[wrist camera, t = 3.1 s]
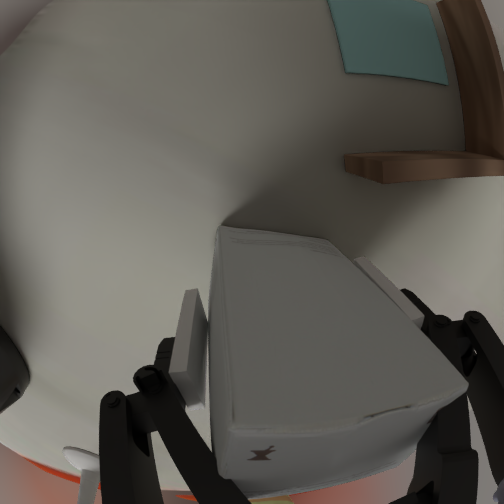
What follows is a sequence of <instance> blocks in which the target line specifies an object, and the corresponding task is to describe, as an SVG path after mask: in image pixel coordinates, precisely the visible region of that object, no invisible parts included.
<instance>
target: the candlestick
mask: <svg viewBox="0 0 504 504" xmlns="http://www.w3.org/2000/svg"><path fill="white" fill-rule="evenodd" d="M63 455H64V456H65V458H66V459H67V460H68V461H69V462H70V463H71V464H72V465H73V466H74V467H76V468H77V469H78V470H80V471H81V481H80V488H79V495H78V503H77V504H94V500H95V496H96V492H97V488H98V486H99V485H98V484H99V482H100V464H99V456H98V455H96V454H94V453H91V452H88V451H85V450H82V449H79V448H75V447H64V448H63Z"/></svg>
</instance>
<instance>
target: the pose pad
mask: <svg viewBox="0 0 504 504" xmlns="http://www.w3.org/2000/svg"><path fill="white" fill-rule="evenodd" d="M327 1H328V4H329V7H330V11H331V14H332V18H333V21H334V25H335V29H336V33H337V37H338V41H339V45H340V50H341V54H342V59H343V63H344V68H345V73H357V74H373V75H384V76H393V77H401V78H409V79H415V80H422V81H427V82H433V83H438V84H443V85H449V83H448V77H447V72H446V68H445V63H444V59H443V55H442V50H441V47H440V43H439V39H438V36H437V32H436V29H435V26H434V23H433V20H432V17H431V14H430V11H429V8H428V6H427V5H425V4H422V3H419V2H416V1H413V0H327Z"/></svg>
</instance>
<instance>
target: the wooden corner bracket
mask: <svg viewBox="0 0 504 504" xmlns="http://www.w3.org/2000/svg"><path fill="white" fill-rule="evenodd" d="M436 4H437V7H438V9H439V12H440V15H441V18H442V21H443V24H444V27H445V30H446V33H447V37H448V40H449V44H450V47H451V51H452V55H453V59H454V64H455V68H456V73H457V78H458V83H459V89H460V95H461V102H462V110H463V119H464V130H465V145H466V151H393V152H373V153H357V154H345V155H344V158H345V169H346V172H348V173H351V174H355V175H358V176H361V177H364V178H367V179H370V180H373V181H376V182H379V183H382V184H390V183H399V182H410V181H421V180H433V179H446V178H462V177H481V176H504V71H503V67H502V62H501V58H500V55H499V51H498V47H497V44H496V40H495V37H494V34H493V31H492V28H491V25H490V22H489V19H488V17H487V14H486V12H485V9H484V7H483V4H482V2H481V0H442V1H440V2H437V3H436Z"/></svg>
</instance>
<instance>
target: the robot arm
mask: <svg viewBox="0 0 504 504" xmlns="http://www.w3.org/2000/svg"><path fill="white" fill-rule="evenodd" d="M354 265H355V266H356V267H358V268H359V269H360V270H361V271H362V272H363V273H364V274H365V275H366V276H367V277H368V278H369V279H370V280H371V281H372V282H373V283H374V284H375V285H376V286H377V287H378V288H379V289H380V290H382V291H383V292H384V293H385V294H386V295H387V296H388V297H389V298H390V299H391V300H392V301H393V302H394V303H395V304H396V305H397V306H398V307H399V308H400V309H401V310H402V311H403V312H404V313H405V314H406V315H407V316H408V317H409V318H410V319H411V320H412V321H413V323H414V324H415V325H416V326H417V327H418V328H419V329H420V330H421V331H422V332H423V333H424V334H425V335H426V336H427V337H428V338H429V339H430V341H431V342H432V343H433V344H434V345H435V346H436V347H437V348H438V349H439V350H440V351H441V352H442V353H443V355H444V356H445V357H446V358H447V359H448V360H449V361H450V363H451V364H452V365H453V366H454V367H455V368H456V369H457V370H458V372H459V373H460V374H461V375H462V376H463V377H464V379H465V380H466V381H467V382H468V383H469V385H468V388H467V391H466V392H465V393H463V394H462V395H461V396H459V397H458V398H457V399H455V400H454V401H452V402H451V403H449V404H448V405H447V406H445V407H444V408H442V409H441V410H439V411H438V412H437V414H436V415H435V417H434V419H433V420H432V422H431V424H430V425H429V427H428V428H427V430H426V431H425V433H424V434H423V436H422V437H421V439H420V440H419V441H418V443H417V450H416V460H415V468H414V475H413V479H412V481H411V483H410V486H409V488H408V492H407V495H406V496H404V497H402V498H399V499H397V500H395V501H393V502H390V503H389V504H476V500H477V488H478V453H477V451H476V450H473V449H472V448H471V437H470V420H469V409H468V400H467V396H468V398H469V401H470V403H471V406H472V409H473V411H474V414H475V417H476V420H477V423H478V426H479V429H480V432H481V435H482V439H483V442H484V445H485V449H486V452H487V456H488V460H489V464H490V468H491V471H492V475H493V477H494V479H495V482H496V484H497V485H498V488H497V491H496V492H495V493H494V495H493V500H494V501H495V502H498V504H504V345H503V344H502V342H501V340H500V339H499V337H498V336H497V334H496V333H495V331H494V330H493V328H492V327H491V325H490V324H489V323H488V321H487V320H486V318H485V317H484V316H483V315H482V314H481V313H479V312H477V311H468V312H466V313H465V315H464V318H463V320H458V321H451V319H449V318H448V317H446V316H444V315H435V314H434V313H433V312H432V311H431V310H430V309H429V308H428V307H427V306H426V305H425V304H424V303H423V302H422V301H421V300H420V299H419V298H418V297H417V296H416V295H415V294H414V293H413V292H411V291H409V290H407V289H405V288H404V289H401V290H399V289H398V288H397V287H396V286H395V285H394V284H393V283H392V282H391V281H390V280H389V279H388V278H387V277H386V276H385V275H384V274H383V273H382V272H381V271H380V270H378V269H377V268H376V267H375V266H374V265H373V264H372V263H371V262H370V261H369V260H368V259H367V258H366V257H365V256H364V257H359V258H354ZM207 345H208V321H207V318H206V315H205V312H204V308H203V305H202V302H201V298H200V295H199V291H198V288H197V289H191V290H185V294H184V299H183V303H182V308H181V312H180V317H179V322H178V327H177V331H176V336H175V337H171V338H164V339H163V340H162V341H161V343H160V344H159V346H158V350H157V354H156V358H155V359H156V360H155V362H154V365H147V366H144V367H142V368H140V369H138V371H137V372H136V373H135V374H134V377H133V382H134V383H135V385H136V387H137V388H138V390H139V391H140V392H137V393H134V394H131V395H127V396H125V395H124V394H123V393H122V392H121V391H111V392H108V393H107V394H106V395H104V397H103V398H102V399H101V403H100V421H99V464H100V483H101V495H102V504H164V502H163V498H162V494H161V489H160V485H159V480H158V475H157V470H156V464H155V459H154V453H153V447H152V440H151V432H154V431H157V430H158V432H159V434H160V436H161V438H162V440H163V442H164V444H165V446H166V448H167V450H168V452H169V454H170V456H171V458H172V459H173V461H174V463H175V465H176V467H177V468H178V470H179V472H180V474H181V475H182V477H183V479H184V480H185V482H186V484H187V485H188V487H189V489H190V490H191V492H192V493H193V495H194V496H195V498H196V499H197V501H198V502H199V504H252V503H251V502H250V501H249V500H248V499H247V497H246V496H245V495H244V494H243V493H242V492H241V490H240V489H239V488H238V487H237V486H236V484H235V483H234V482H233V481H232V479H224V478H223V477H222V476H220V475H219V473H218V467H217V459H216V458H215V456H214V455H213V454H212V452H211V451H210V449H209V448H208V446H207V445H206V443H205V442H204V440H203V439H202V437H201V436H200V434H199V433H198V431H197V430H196V428H195V427H194V425H193V423H192V422H191V420H190V419H189V417H188V415H187V414H186V412H185V407H186V405H187V407H188V409H189V410H197V409H205V394H206V366H207ZM474 350H475V351H476V353H477V354H476V353H475V351H474ZM28 384H29V374H28V371H27V368H26V365H25V363H24V361H23V359H22V357H21V356H20V354H19V352H18V351H17V349H16V347H15V346H14V344H13V343H12V341H11V340H10V339H9V337H8V336H7V335H6V333H5V332H4V331H3V329H2V328H1V327H0V414H1V413H2V412H3V411H4V410H6V409H7V408H8V407H9V406H11V405H12V404H13V403H14V402H16V401H17V400H18V399H19V398H21V397H22V395H23V394H24V392H25V390H26V388H27V386H28Z"/></svg>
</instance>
